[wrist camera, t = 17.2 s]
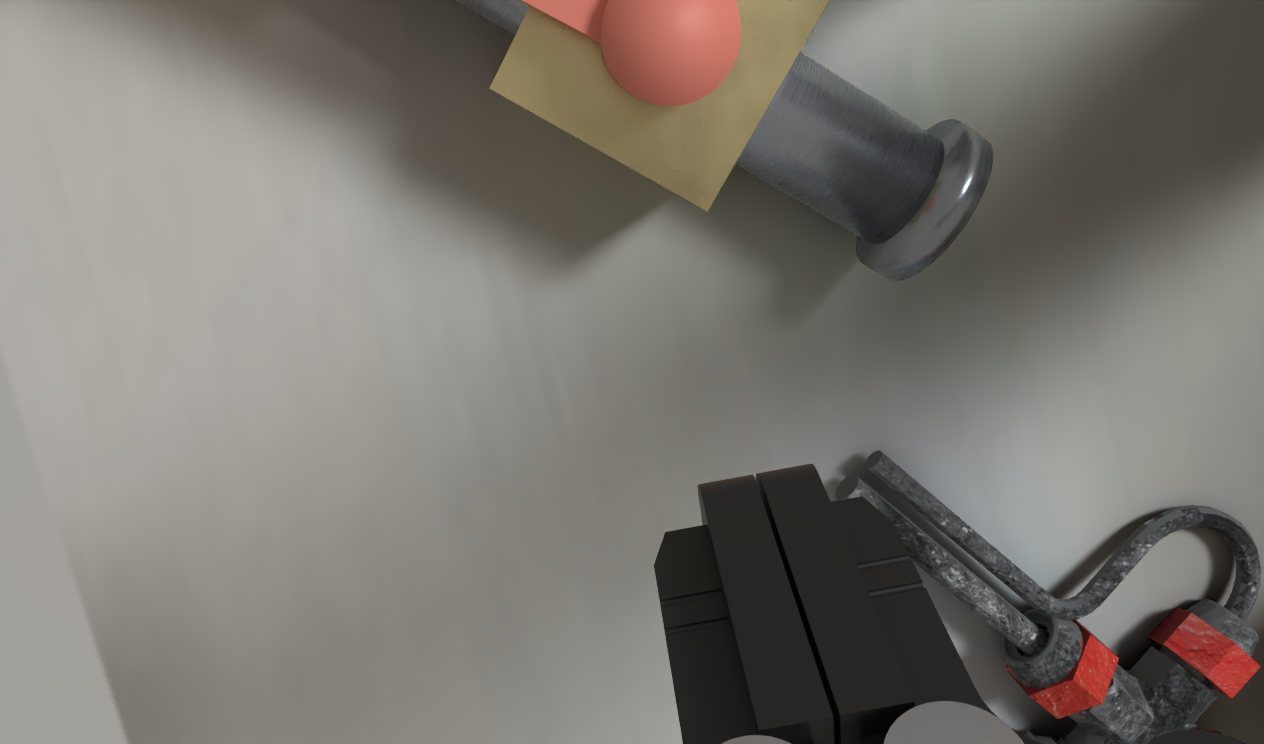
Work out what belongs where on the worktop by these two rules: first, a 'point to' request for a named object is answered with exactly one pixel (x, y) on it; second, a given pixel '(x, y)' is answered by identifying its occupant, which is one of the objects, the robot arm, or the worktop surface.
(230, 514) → the worktop surface
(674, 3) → the lever
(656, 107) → the valve body
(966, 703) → the robot arm
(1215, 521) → the valve
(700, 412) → the worktop surface
